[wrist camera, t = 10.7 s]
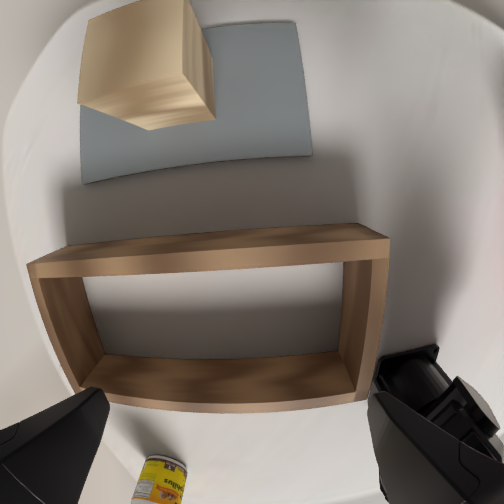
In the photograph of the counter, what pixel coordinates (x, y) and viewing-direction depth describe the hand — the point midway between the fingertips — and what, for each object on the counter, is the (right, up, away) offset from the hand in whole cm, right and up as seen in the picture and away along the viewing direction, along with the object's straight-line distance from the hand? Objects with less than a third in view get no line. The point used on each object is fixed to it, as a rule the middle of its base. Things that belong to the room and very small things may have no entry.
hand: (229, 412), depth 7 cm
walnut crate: (-3, +1, +12) cm, 12 cm away
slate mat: (-4, +15, +8) cm, 18 cm away
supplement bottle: (-10, -22, +18) cm, 30 cm away
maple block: (-4, +15, +8) cm, 17 cm away
